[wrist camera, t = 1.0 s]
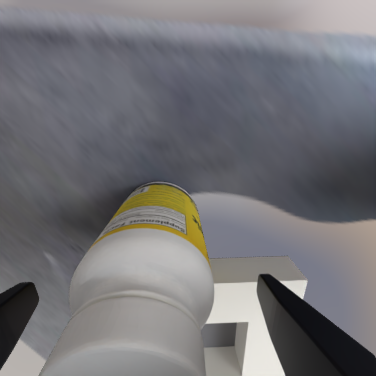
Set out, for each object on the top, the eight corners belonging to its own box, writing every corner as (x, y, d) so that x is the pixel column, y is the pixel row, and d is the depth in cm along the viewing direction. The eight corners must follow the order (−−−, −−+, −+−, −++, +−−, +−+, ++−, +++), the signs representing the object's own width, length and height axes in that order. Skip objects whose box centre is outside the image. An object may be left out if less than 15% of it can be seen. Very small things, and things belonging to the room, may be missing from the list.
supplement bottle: (191, 250, 15) (208, 467, 5) (121, 241, 14) (6, 462, 5) (205, 186, 13) (267, 336, 4) (127, 173, 12) (-30, 308, 3)
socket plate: (287, 255, 15) (311, 284, 12) (266, 366, 19) (281, 406, 17) (114, 261, 15) (98, 293, 12) (133, 373, 19) (124, 415, 16)
